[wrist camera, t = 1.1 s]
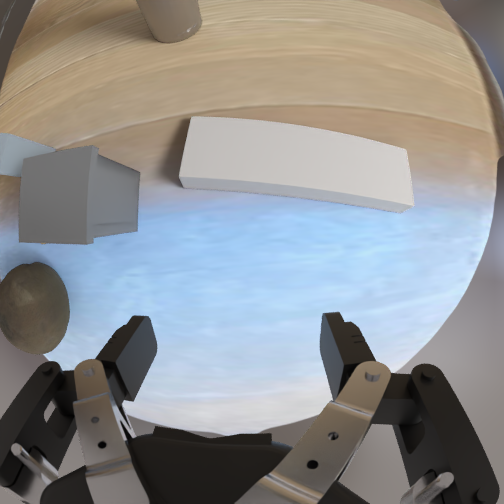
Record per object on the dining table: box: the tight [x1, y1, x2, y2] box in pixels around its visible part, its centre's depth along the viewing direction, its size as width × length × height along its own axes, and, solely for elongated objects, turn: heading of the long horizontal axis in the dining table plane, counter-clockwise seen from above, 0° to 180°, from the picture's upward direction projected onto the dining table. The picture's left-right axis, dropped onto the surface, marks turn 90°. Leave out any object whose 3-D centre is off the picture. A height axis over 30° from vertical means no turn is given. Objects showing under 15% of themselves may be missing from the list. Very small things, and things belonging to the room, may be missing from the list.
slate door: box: [0, 133, 56, 177], centre depth 30 cm, size 3×6×13 cm, turn 163°
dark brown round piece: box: [0, 262, 70, 354], centre depth 32 cm, size 14×14×15 cm
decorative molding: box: [179, 116, 414, 213], centre depth 37 cm, size 34×5×10 cm
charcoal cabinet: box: [19, 145, 140, 245], centre depth 30 cm, size 17×10×15 cm, turn 88°
